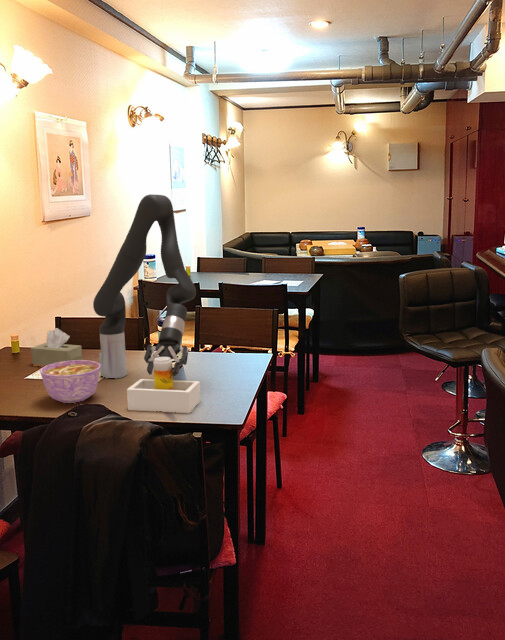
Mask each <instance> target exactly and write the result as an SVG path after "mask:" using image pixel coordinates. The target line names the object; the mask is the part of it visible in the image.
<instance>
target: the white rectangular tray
mask: <svg viewBox="0 0 505 640" xmlns="http://www.w3.org/2000/svg"><path fill="white" fill-rule="evenodd" d="M126 396H127V410H128V411H141V412H156V411H158V412H159V411H162V412H161V413H175V412H176V413H177V414H191V413H190V412H193V410H194V409H195V408H196V407H197V406H198V405H199V404H198V403H201V383H200V381H198V380H176V379H173V390H160V389H155V384H154V378H153V379H148V378H140V379H139V380H137V381H136V382H134V384H132V385H130V386H129V387H128V388H126ZM197 404H198V405H197ZM196 405H197V406H196ZM195 406H196V407H195ZM194 407H195V408H194ZM159 413H160V412H159Z"/></svg>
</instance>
